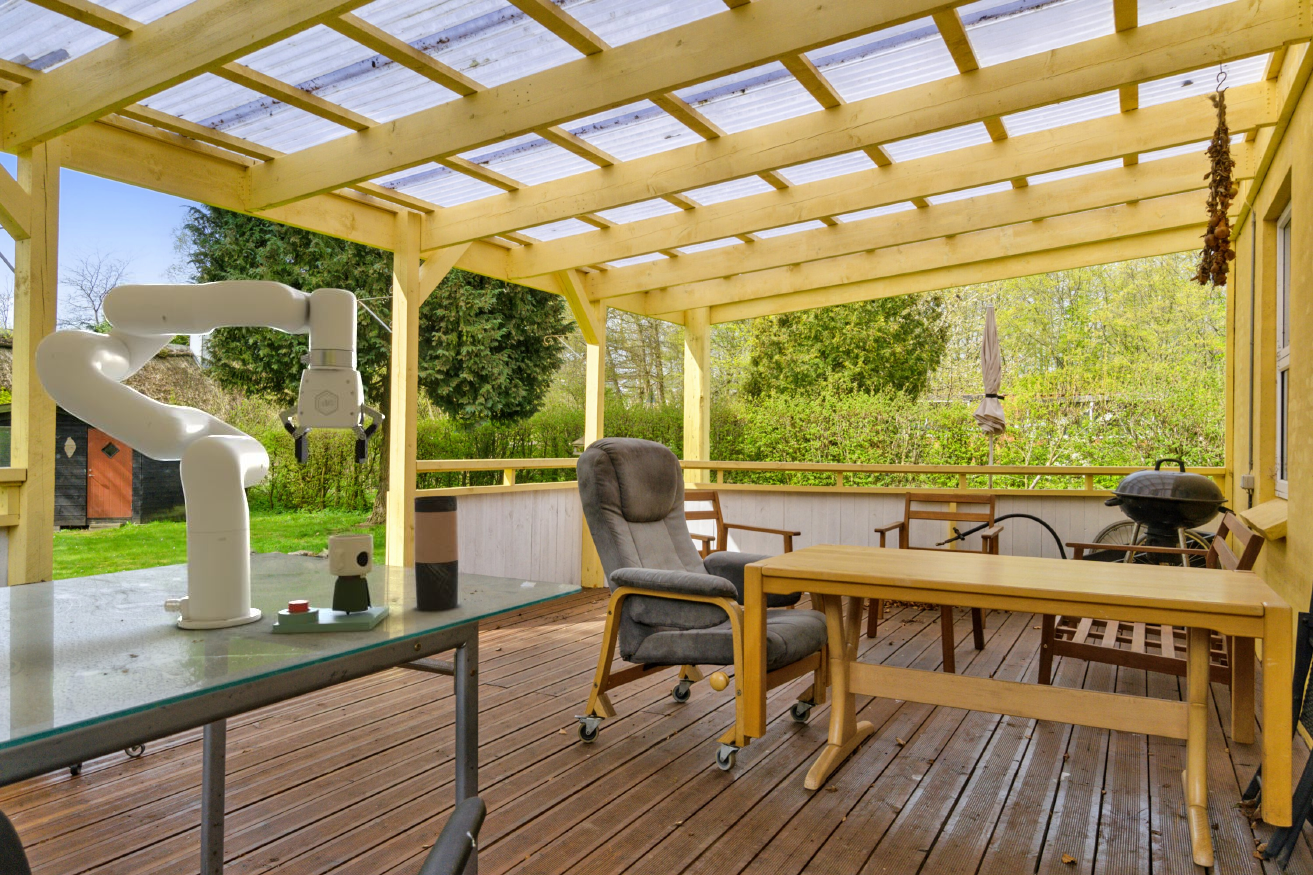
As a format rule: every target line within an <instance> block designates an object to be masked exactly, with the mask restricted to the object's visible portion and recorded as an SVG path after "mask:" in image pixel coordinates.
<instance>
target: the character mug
mask: <svg viewBox="0 0 1313 875" xmlns="http://www.w3.org/2000/svg"><path fill="white" fill-rule="evenodd" d="M327 548H328V550H327V552H328V554H327V555H328V556H327V558H328V574H329V575H332V576H337V578H336V580H335V582H334V586H333V587H334V588H333V596H332V607H331V608H332V611H343V612H346V614H347V615H349V614H350V612H351V613H354V612H362V611H367V610H368V607H370V609H371V607H372V601H371V594H370V589H369V583H368V579H367V574H370V573H372V572H373V570H374V562H373V553H374V535H373V534H371V533H343V534H335V535H330V536H328V539H327Z"/></svg>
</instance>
